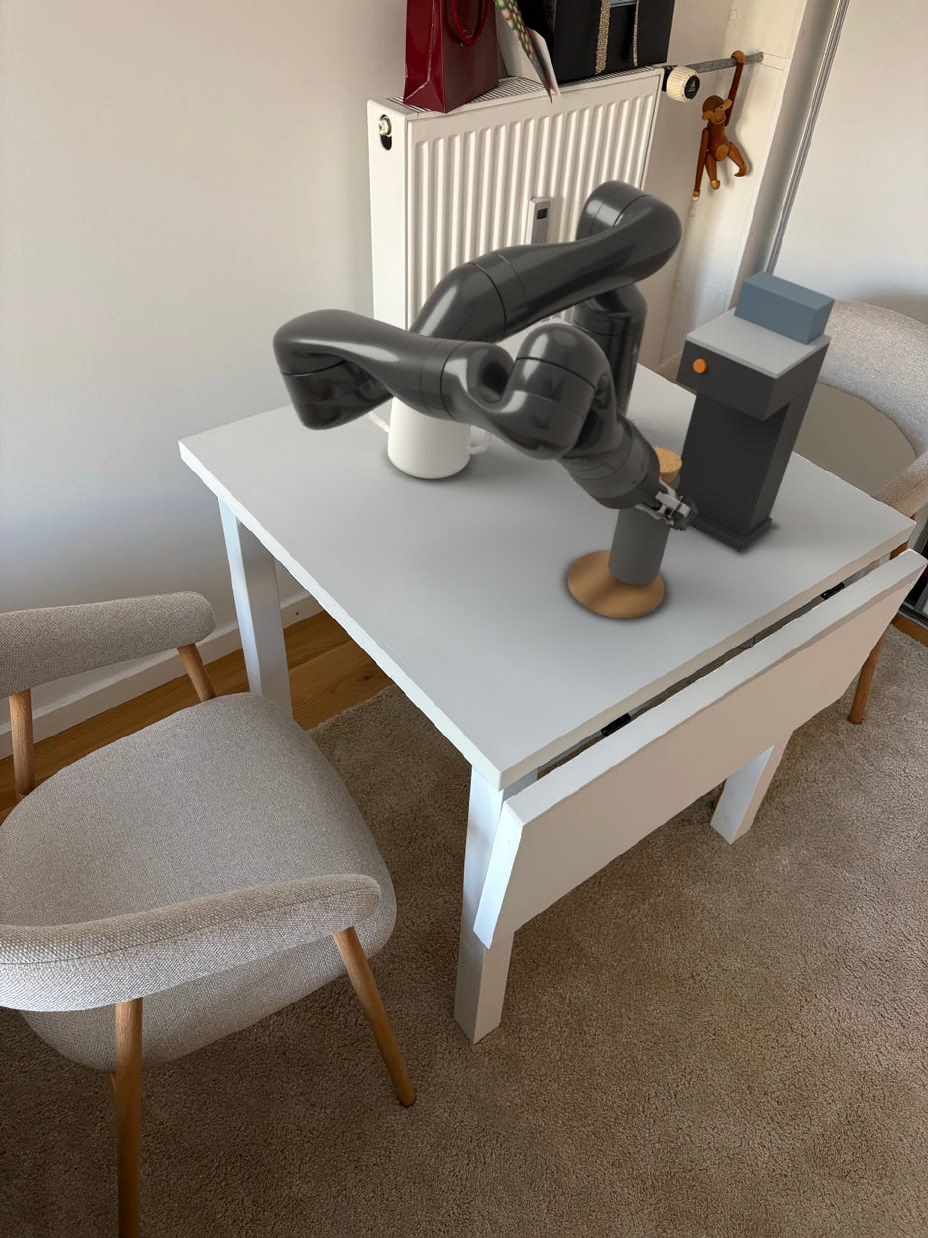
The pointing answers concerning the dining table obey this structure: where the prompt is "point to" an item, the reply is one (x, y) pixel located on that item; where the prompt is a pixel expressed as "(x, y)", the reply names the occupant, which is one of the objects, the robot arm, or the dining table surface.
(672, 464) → the bottle
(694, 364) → the coffee maker
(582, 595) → the disc
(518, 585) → the dining table surface
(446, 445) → the coffeepot
